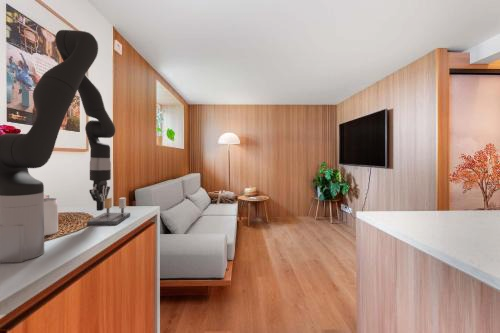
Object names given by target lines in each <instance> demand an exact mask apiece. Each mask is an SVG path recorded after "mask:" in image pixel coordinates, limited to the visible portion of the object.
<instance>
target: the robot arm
mask: <svg viewBox="0 0 500 333" xmlns="http://www.w3.org/2000/svg"><path fill="white" fill-rule="evenodd" d="M54 37H55V45H56V48H57V51H58V53H59V55H60V58H61V59H62V61H61V62H60V63H58V64H56V65H54V66H53V67H51V68H50V69H48V70H47V71H46V72H44V73H43V74H42V76H40V79H39V80H38V82H37V84H36V86H35V87H34V90H33V91H32V101H33V104H34V108H35V111H36V117H35V120H34V122H33V124H32V126H31V128H30V129H29V130H28V132H27V133H3V134H0V264H2V263H5V264H6V263H22V262H25V261H28V260H32V259H34V258H37V257H39V256H42V255H43V254H44V252H45V236H44V199H45V193H44V192H45V185H44V183H43V181H41V180H39V179H36V178H34V177H33V176H32V175H31V174H30V173H29V169H39V168H41V167H43V166H45V165H46V164H47V163H48V162H49V160H50V159H51V156H52V154H53V152H54V148H55V145H56V142H57V139H58V135H59V133H60V129H61V127H62V125H63V122H64V119H65V117H66V115H67V112H68V111H69V109H70V107H71V105H72V103H73V101H74V99H75V97H76V94H77V92H78V95H79V97H80V102H81V104H82V107H83V110H84V113H85V115H86V116H87V117H89V118H93V120H92V119H91V120H88V121H87V122H86V124H85V127H84V131H85V134H86V137H87V140H88V144H89V148H90V150H89V151H90V153H89V154H90V158H89V159H90V160H89V180H90V181H92V182H93V183H92V188H91V189H89V191H88V192H89V194H90V196H91V198H92V200H93V201H94V202H96V211H97V212H98V211H99V212H100V211H104V210H105V208H104V201H105V199H107V198H108V196H109V192H110V189H111V186H108V181H110V180H111V178H112V175H111V174H112V173H111V171H112V170H111V168H112V163H111V147H110V145H109V144H107V143H103V142H101V141H100V139H101V138H103V139H111V138H113V137H114V136H115V133H116V126H115V124H114V122H113V120H112V119H111V117H110V116H109V113H108V112H107V110H106V108H105V104H104V101H103V97H102V94H101V92H100V90H99V89H98V88H97V86H96V85H95V83H93V82H92V80H91V79H90V78H89V77H88V75H87V72H88V71H89V69H90V68H91V66H92V65H93V63H94V62H95V60H96V58H97V56H98V53H99V44H98V41H97V38H96V36H94V35H93V34H92V33H91V32H88V31H83V30H75V29H74V30H72V29H59V30H58V31H57V32H56V34H55V36H54ZM94 119H96V120H94ZM99 138H100V139H99Z"/></svg>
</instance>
